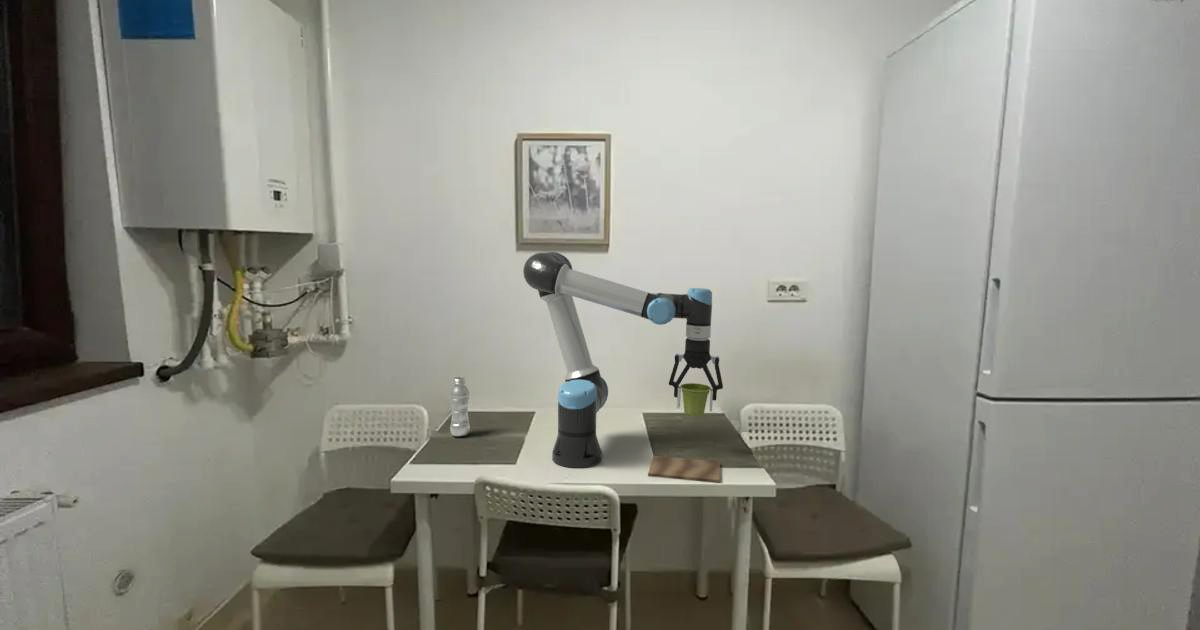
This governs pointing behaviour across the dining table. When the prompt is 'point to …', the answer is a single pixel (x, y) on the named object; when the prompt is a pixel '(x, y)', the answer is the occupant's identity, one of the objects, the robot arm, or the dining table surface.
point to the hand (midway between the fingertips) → (694, 408)
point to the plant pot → (695, 398)
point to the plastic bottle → (459, 408)
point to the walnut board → (685, 469)
